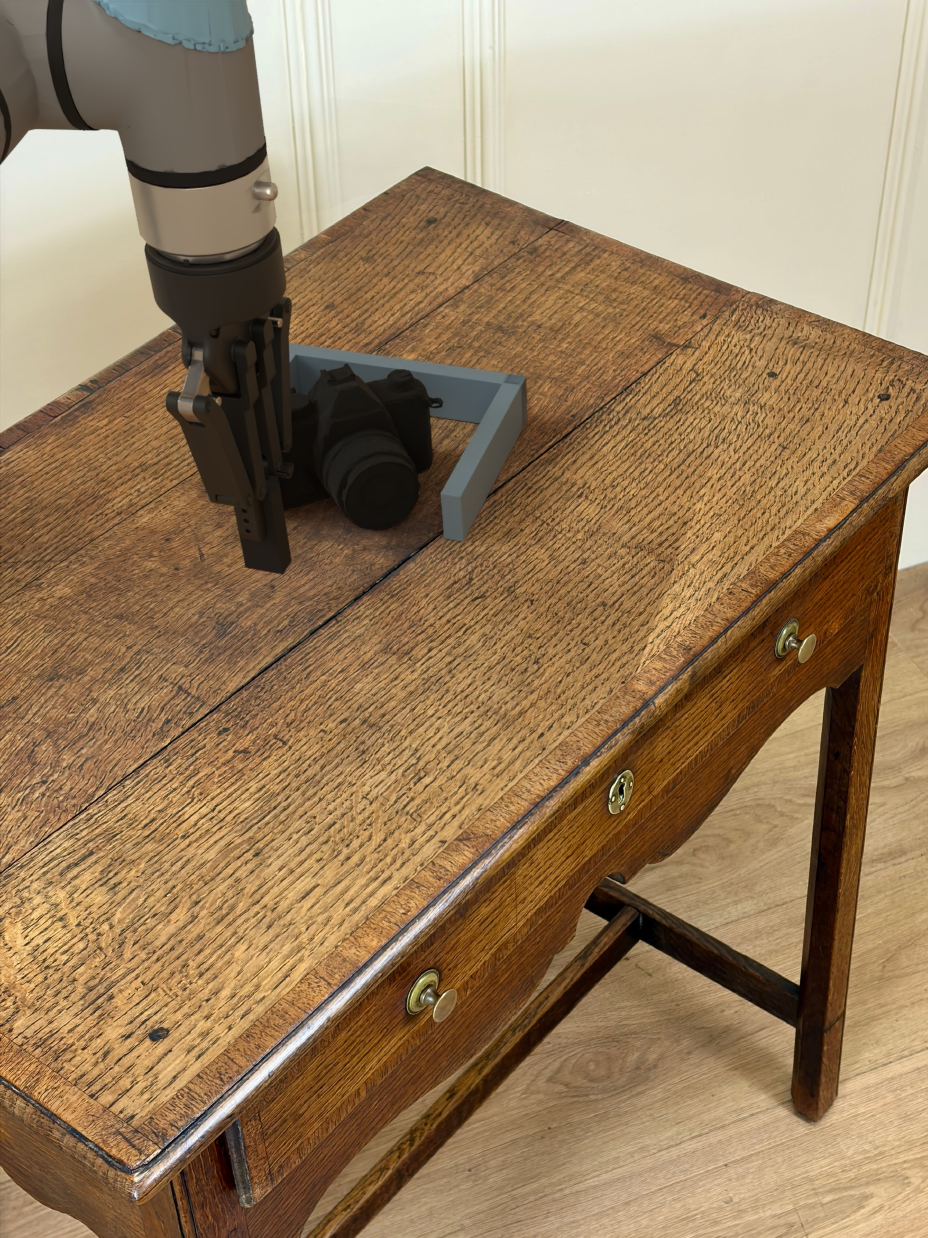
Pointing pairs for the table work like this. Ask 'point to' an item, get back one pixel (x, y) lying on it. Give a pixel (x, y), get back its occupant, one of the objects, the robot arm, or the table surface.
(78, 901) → the table surface
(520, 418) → the u-shaped bracket
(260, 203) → the robot arm
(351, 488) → the film camera
